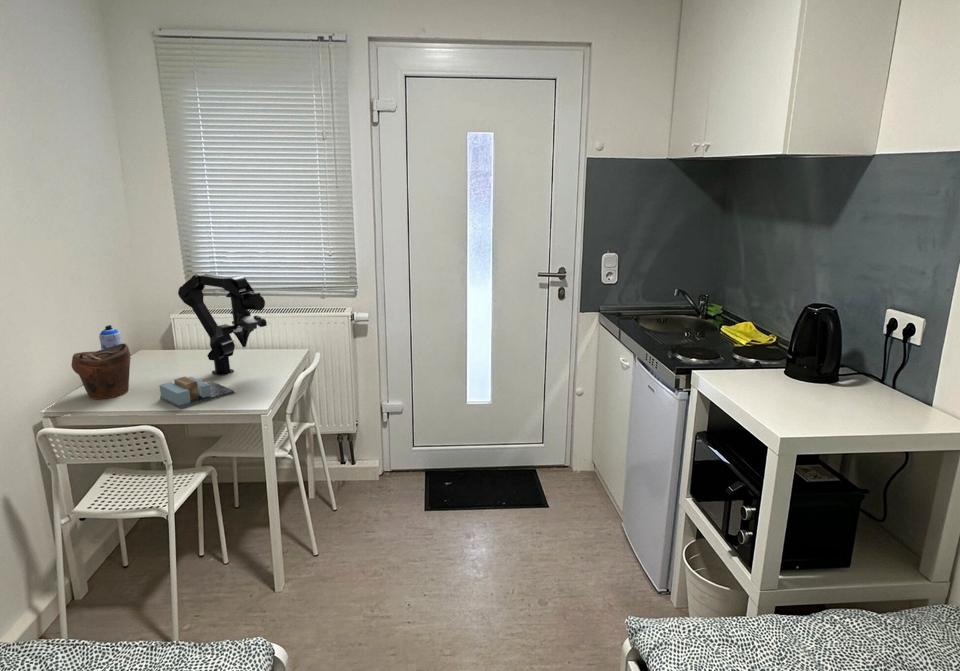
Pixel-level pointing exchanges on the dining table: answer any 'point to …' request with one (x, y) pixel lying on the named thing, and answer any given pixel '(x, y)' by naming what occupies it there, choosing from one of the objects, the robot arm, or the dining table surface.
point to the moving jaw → (202, 388)
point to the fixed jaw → (175, 393)
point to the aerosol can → (109, 337)
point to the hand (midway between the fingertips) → (244, 346)
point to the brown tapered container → (104, 371)
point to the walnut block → (188, 386)
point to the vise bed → (216, 392)
